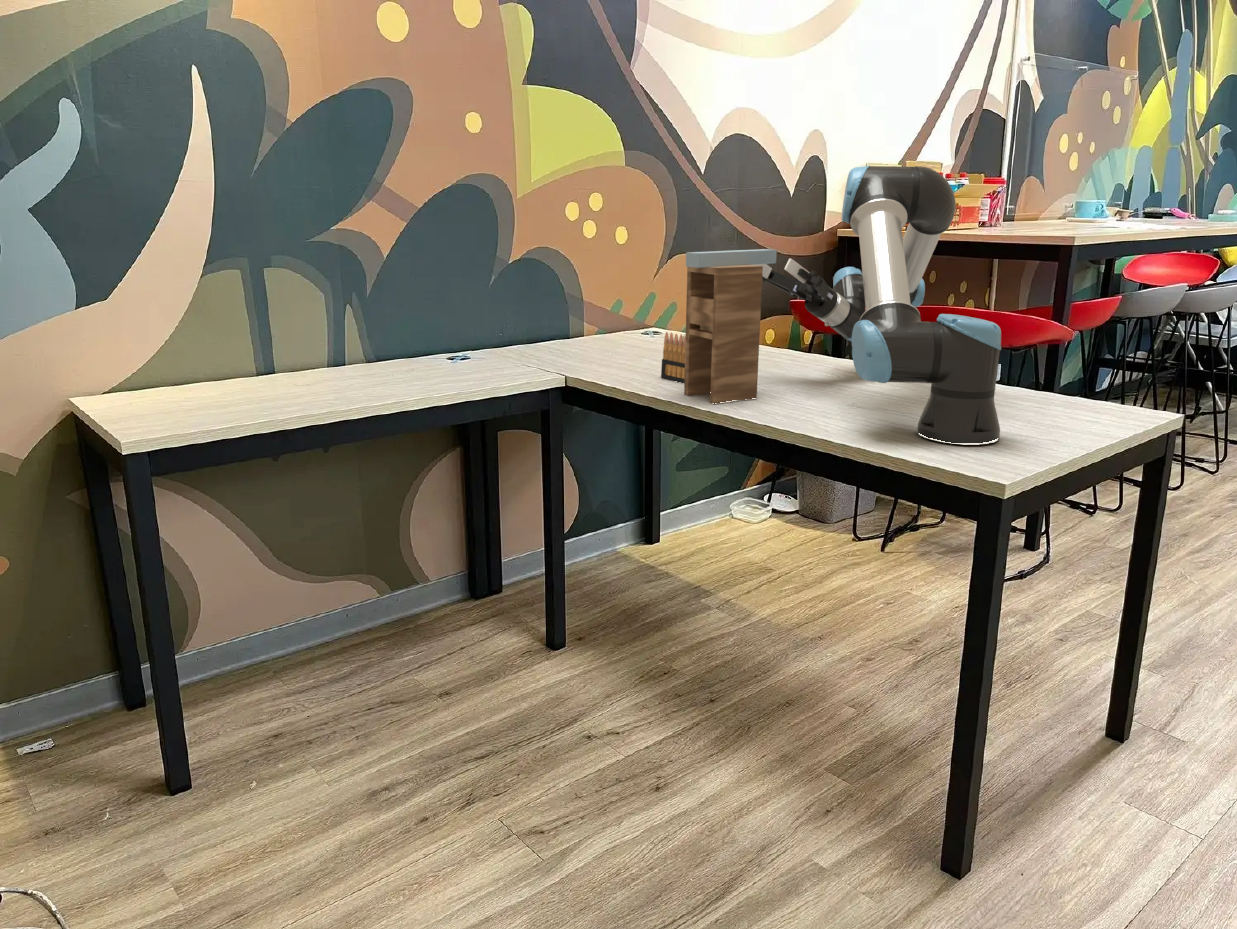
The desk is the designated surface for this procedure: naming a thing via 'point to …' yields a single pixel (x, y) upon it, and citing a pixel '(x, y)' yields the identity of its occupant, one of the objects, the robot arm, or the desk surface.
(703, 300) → the rack
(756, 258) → the batten
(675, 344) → the ammunition clip
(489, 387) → the desk surface
